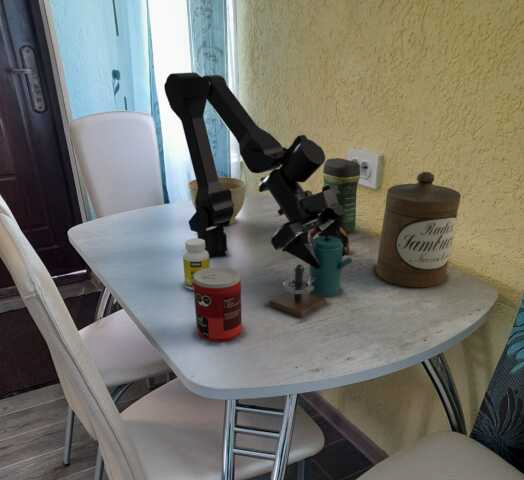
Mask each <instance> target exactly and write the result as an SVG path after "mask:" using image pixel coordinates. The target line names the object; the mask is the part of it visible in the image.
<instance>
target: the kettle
mask: <svg viewBox="0 0 524 480" xmlns="http://www.w3.org/2000/svg"><path fill="white" fill-rule="evenodd" d="M313 239H314V241H313V242H312V243H311V247H312V249H313V251H314V253H315V254H316V256H317V258H318V260H319V262H320V264H321V267H320V268H319V269H316V268H314V267H313V266H311V265H309V270H308V271H309V272H308V277H307V278H303V284H302V285H304V286H306V287H304V288H302V289H295V287H291V285H295V278H290V279H287V280H286V281H284V282H283V283H282V285H283V290H284V291H285V292H290V293H292V294H307V293H312V294H315V295H317V296H320V297H323V298H325V297H327V298H328V297H333V296H336V295H338V294H339V293H340V287H341V277H342V269H343V268H345V267H347V266H348V265H350V264H352V263H353V262H354V261H353V258H352V257H347V258H346V259H344V260H343V257H342V254H343V244H342V243H341V240H340V239H339V238H336V237H332V236H329V235H326V236H315V237H314V238H313Z"/></svg>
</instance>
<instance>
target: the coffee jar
mask: <svg viewBox="0 0 524 480" xmlns="http://www.w3.org/2000/svg"><path fill="white" fill-rule="evenodd" d="M322 178H323V186H326V185H328V184H331V183H333V184H334V185H335V186H336V188H337V189H338V191H340V196H339V198H338V203H339V204H338V205H342V207H343V208H344V210H345V212H346V214H345V215H344V216H343V217H344V218H343V220H342V221H341V225H340V227H341V228H342V229H343V230H344V231H345V232H346V235H348V234H351V233H352V232H354V231H355V230H356V223H357V218H356V217H357V193H358V192H357V191H358V184H359V182H360V179H361V165H360V163H359V162H358V161H353V160H349V159H345V158H341V157H340V158H339V157H334V158H328V159H326V160H325V162H324V163H323V170H322ZM331 206H333V205H331ZM324 210H325V209H324Z"/></svg>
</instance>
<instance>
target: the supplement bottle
mask: <svg viewBox="0 0 524 480" xmlns="http://www.w3.org/2000/svg"><path fill="white" fill-rule="evenodd" d="M184 245H185V250H184V252H183V253H182V262H183V277H184V286H185V288H186V289H189V291H190V290H191V291H194V287H193V275H194V274H195V273H196V272H197V271H199V270H202V269H205V268H210V267H211V266H210V257H209V253H208V252H207V251H206V250H204V249H205V241H204V240H203V239H197V237H195V238H189V239H186V240H185V242H184Z"/></svg>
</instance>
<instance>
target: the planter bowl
mask: <svg viewBox="0 0 524 480" xmlns="http://www.w3.org/2000/svg"><path fill="white" fill-rule="evenodd" d="M218 180H219V183H220V184H221V185H222V187H223V188H224V189H230V191H231V196H232V201H233V203H234V205H235V206H234V207H233V210H234V213H233V215H232V217H231V220H230V224H229V225H231V224H234V223H235V222H236V218H237V216H238V214H239V213H240V212H241V210H242V208H243V206H244V203H245V200H246V191H247V190H246V189H247V186H248V185H247V181H246V180H243V179H240V178H236V177H229V176H227V177H226V176H218ZM187 187H188V190H189V196H190V200H191V203H192V205H193V207H194V209H195V210H196V206H195V198H196V194H197V190H198V185H197V181H196V178H195V179H192V180H190V181H189V182H188V186H187Z"/></svg>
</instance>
